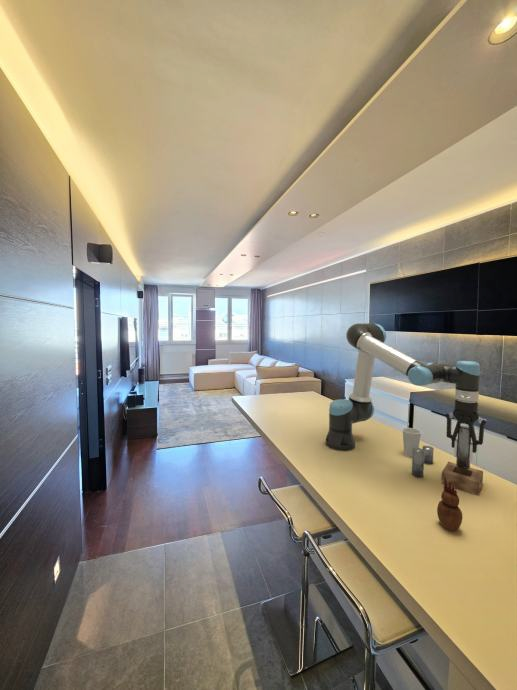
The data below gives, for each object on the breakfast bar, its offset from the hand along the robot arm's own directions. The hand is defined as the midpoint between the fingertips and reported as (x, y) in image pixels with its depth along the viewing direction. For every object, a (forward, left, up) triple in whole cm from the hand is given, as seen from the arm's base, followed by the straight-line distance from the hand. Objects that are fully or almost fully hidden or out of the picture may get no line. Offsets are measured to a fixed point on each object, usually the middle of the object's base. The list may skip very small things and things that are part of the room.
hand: (463, 457), depth 118 cm
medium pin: (-15, -5, -11) cm, 19 cm away
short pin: (-15, +11, -11) cm, 21 cm away
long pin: (0, 0, -4) cm, 4 cm away
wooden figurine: (+1, -33, -11) cm, 35 cm away
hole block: (0, 0, -11) cm, 11 cm away
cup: (-23, +14, -11) cm, 29 cm away
